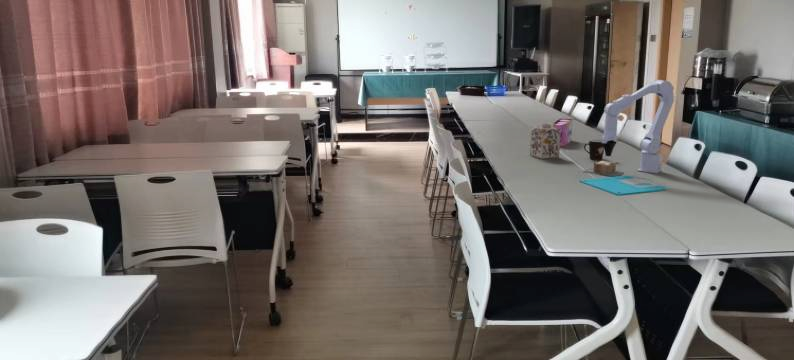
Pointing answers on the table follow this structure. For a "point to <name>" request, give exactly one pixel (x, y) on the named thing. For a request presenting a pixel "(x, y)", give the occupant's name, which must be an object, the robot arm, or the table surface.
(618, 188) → the diskette
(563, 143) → the gum box
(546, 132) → the decorative jar
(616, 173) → the slate mat
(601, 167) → the cardboard box
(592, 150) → the coffee mug
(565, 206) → the table surface
